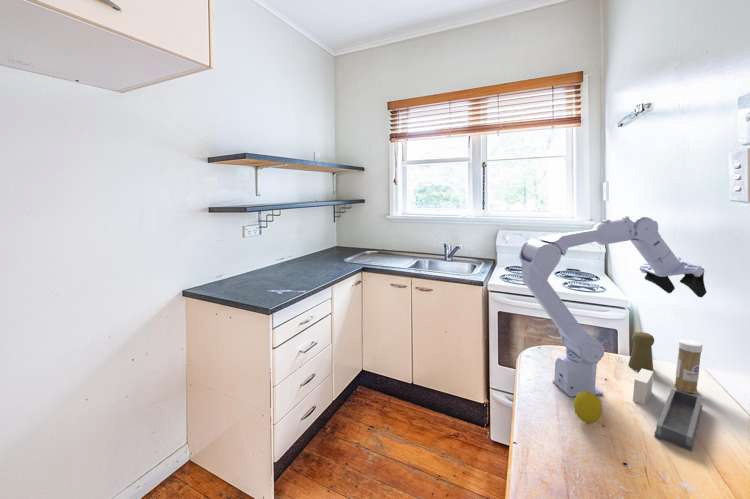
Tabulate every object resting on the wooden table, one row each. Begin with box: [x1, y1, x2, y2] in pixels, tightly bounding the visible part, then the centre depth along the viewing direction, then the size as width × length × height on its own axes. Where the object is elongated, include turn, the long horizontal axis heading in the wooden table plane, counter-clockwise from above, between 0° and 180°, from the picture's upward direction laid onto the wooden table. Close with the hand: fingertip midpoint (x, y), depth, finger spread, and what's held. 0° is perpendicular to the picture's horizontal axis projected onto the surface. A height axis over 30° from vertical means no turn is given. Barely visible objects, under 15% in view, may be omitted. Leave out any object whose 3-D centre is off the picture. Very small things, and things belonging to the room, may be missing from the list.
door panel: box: [632, 368, 654, 406], centre depth 87 cm, size 8×2×6 cm, turn 131°
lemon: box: [573, 391, 603, 424], centre depth 77 cm, size 6×6×8 cm
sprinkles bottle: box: [674, 338, 703, 394], centre depth 89 cm, size 5×5×13 cm
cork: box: [627, 331, 655, 373], centre depth 101 cm, size 6×6×11 cm
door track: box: [653, 388, 703, 452], centre depth 77 cm, size 20×6×3 cm, turn 131°
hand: (686, 292), depth 88 cm, fingers open, 7 cm apart
